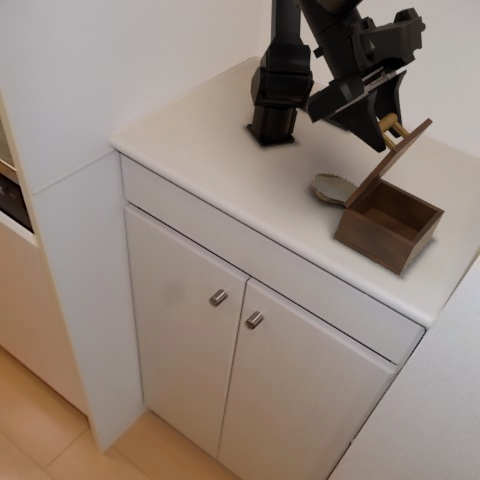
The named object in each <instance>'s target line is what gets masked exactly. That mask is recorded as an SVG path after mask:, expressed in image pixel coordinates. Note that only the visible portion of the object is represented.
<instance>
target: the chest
mask: <svg viewBox="0 0 480 480" xmlns="http://www.w3.org/2000/svg"><path fill="white" fill-rule="evenodd" d="M444 214H445V210H444V209H441V208H440V207H438V206H436V205H434V204H432V203H430V202H428V201H426V200H424V199H422V198H421V197H418V196H417V195H415V194H413V193H410V192H409V191H407V190H405V189H403V188H402V187H401V188H400V187H399V186H397V185H395V184H393V183H391V182H389V181H387V180H385V179H383V178H380V179H379V180H378V181H377V182H376V183H375V184H374V185H373V186H371V187H370V188H369V189H368V190H367V191H366V192H365V193H364V194H363V195H361V196H360V197H359V198H358V199H357V200H356V201H355V202H354V203H352V204H351V205H350V206H349V207H348V208H347V207H346V206H345V208H344V209H343V212H342V215H341V217H340V221H339V223H338V226H337V229H336V232H335V235H334V238H333V239H334V240H336V241H338V242H339V243H341V244H343V245H345V246H347V247H348V248H350V249H352V250H354V251H356V252H357V253H359V254H360V255H363V257H366V258H367V259H369V260H371V261H373V262H375V263H376V264H378V265H380V266H381V267H383V268H385V269H386V270H389V271H391V272H392V273H394V274H396V275H397V276H401V275H402V273H404V271H405V270H406V269H407V267H408V266H409V265H410V264H411V263H412V262H413V260H414V259H415V258H416V257H417V256H418V254H419V253H420V252H421V251H422V249H423V248H424V247H425V246H426V245H427V244H428V243H429V241H430V240H431V238H432V237H433V234H434V233H435V231H436V230H437V227H438V225H439V224H440V221H441V219H442V217H443V215H444Z"/></svg>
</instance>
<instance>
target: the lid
mask: <svg viewBox="0 0 480 480" xmlns="http://www.w3.org/2000/svg"><path fill="white" fill-rule="evenodd" d="M433 122H434V121H433V120H432V119H431V118H429V117H428V118H426V119H425V120H424V121H423V122H422V123H420V124H419V125H418V126H417V127H416V128H414V129H413V130H411V132H409V131H408V130H406V128H405V127H404V126H403V127H402V126H401V125H400V124H399V123H398V117H397V115H396V114H395V113H389V114H388V115H386V116H385V117H384V118H383V119H381V120H378V123H379V126H380V129H381V132H382V135H383V138H384V141H385V145H386V148H387V149H388V150H389V151H388V153H387V154H386V155H385V156H384V157H383V158H382V160H380V162H379V163H378V164H377V165H376V167H374V169H373V170H372V171H371V172H370V173H369V174H368V175H367V176H366V177H365V179H364V180H363V181H362V182H361V183H360V184H359V186H358V187H357V189H356V190H355V191H354V192H353V194H352V195H351V196H350V197H349V198H348V199H347V200H346V201H345V203H344V204H343V206H345V208H346V207H347V208H348V207H349V206H350V205H351V204H352V203H354V202H355V201H356V200H357V199H358V198H359V197H360V196H361V195H363V194H364V193H365V192H366V191H367V190H368V189H369V188H370V187H371V186H373V185H374V184H375V183H376V182H377V181H378V180H379V179H380V178H381V179H383V177H384V176H385V174H387V173H388V172H389V170H390V169H391V168H392V167H393V166H394V165H395V164H396V163H397V162H398V161H399V160H400V159H401V157H402V156H403V155H404V154H406V152H407V151H408V150H409V149H410V147H411V146H413V144H414V143H415V142H416V141H417V140H418V139H419V138H420V137H421V136H422V134H423V133H425V131H426V130H428V128H429V127H430V126H431V125H432V124H433ZM391 127H392V128H394V129H395V130H396V131H397V132H398V133H399V134H400V135H401V138H402V140H401V141H399V142H398V143H397V144H396V143H395V142H394V141H393V140H392V139H391V138H390V137H389V136H388V135H387V134H386V132H389V131H388V130H389V129H390V128H391Z"/></svg>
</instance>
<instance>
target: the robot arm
mask: <svg viewBox="0 0 480 480" xmlns="http://www.w3.org/2000/svg"><path fill="white" fill-rule="evenodd" d="M363 1H364V0H271V9H270V10H271V11H270V14H271V16H270V20H271V21H270V41H269V42H270V43H269V44H268V46H267V48H266V50H265V51H264V53H263V55H262V57H261V59H260V61H259V66H258V67H257V68H256V70H255V72H254V74H253V75H252V77H251V79H250V96H251V100H252V104H253V107H254V109H253V113H252V120H251V123H248V124H246V129H247V130H248V131H249V133H250V134H251V135H252V137H253V138H254V139H255V140H256V141H257V143H258V145H260V146H261V147H263V148H265V147H271V146H277V145H278V146H279V145H286V144H293V143H295V141H296V138H295V137H294V136H293V133H294V131H295V125H296V122H297V117H298V110H297V109H300V110H302V109H304V108H305V105H306V109H305V110H306V111H305V113H307V115H308V118H309V119H310V121H311V124H315V123H317V122H318V121H321V120H323V119H322V118H324V117H326V116H327V115H329V114H331V113H333V112H334V111H336V113H334V114H333V115H331V116H330V117H328V119H329V121H332V120H333V121H335V122H336V123H338V124H339V125H341V126H343V127H344V128H346V129H347V131H349V132H350V133H351V134H352V135H354V136H356V137H357V138H358V139H359V140H361V141H362V142H363V143H364V144H366V145H367V146H369V147H370V148H371V149H372V150H373V151H375V152H376V153H377V154H381V153H383V152H385V151H386V150H387V147H386V145H385V141H384V138H383V135H382V132H381V129H380V126H379V123H378V122H379V121H380V120H381V119H383V118H384V117H385V116H386V115H388V114H389V113H395V114H396V115H397V117H398V123H399V124H400V125H401V126H402V127H403V128H404V126H403V117H402V111H401V101H400V87H401V85H402V83H403V80H404V78H405V76H406V74H407V72H408V69H404V70H402V71H401V72H399V73H397V71H398V70H400V69H402V68H405V67H406V66H408V65H410V64H411V63H413V62H414V61H416V60H417V59H416V57H415V55H414V52H415V51H416V50H421V49H423V38H422V33H423V32H424V31H425V30H426V29H427V25H426V23H424V22H423V17H422V15H421V16H419V14H418V12H417V11H416V9H415V7H414V6H413V7H408V8H405V9H404V8H403V9H401V10H400V11H397V12H396V13H395V16H394V19H393V21H392V22H388V23H386V24H382V25H378V26H377V25H376V23H375V22H374V19H373V17H370V16H369V15H367V16H365V17H363V18H362V16H361V14H360V12H359V9H358V6H359V5H360V4H361V3H362V2H363ZM302 15H303V17H304V19H305V21H306V23H307V26H308V28H309V30H310V31H311V34H312V35H313V38H314V40H315V43H316V44H317V46H318V47H315V49H314V50H311V47H310V45H309V44H304V40H303V39H302V38H301V27H302V26H301V23H302ZM312 53H313V55H314V57H315V59H319V58H321V57H323V59H324V61H325V64H326V65H327V67H328V69H329V71H330V73H331V76H332V78H333V79H331V80H330V81H328V82H327V83H328V85H327V86H325V87H324V88H322V89H320V90H318V91H319V92H318V91H316V92H317V93H316V92H315V93H316V94H314V93H313V94H314V95H313V94H312V95H313V96H311V93H312V90H313V87H314V86H315V80H314V75H313V70H311V57H312ZM310 96H311V97H310ZM387 132H388V133H390V134H391V136H393V137H394V139H399V138H402V136H401V135H400V134H399V133H398V132H397V131H396V130H395V129H394V128H392V127H391V128H390V129H389V130H388V131H387Z"/></svg>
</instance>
